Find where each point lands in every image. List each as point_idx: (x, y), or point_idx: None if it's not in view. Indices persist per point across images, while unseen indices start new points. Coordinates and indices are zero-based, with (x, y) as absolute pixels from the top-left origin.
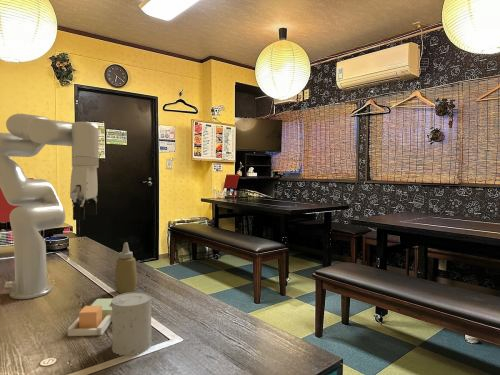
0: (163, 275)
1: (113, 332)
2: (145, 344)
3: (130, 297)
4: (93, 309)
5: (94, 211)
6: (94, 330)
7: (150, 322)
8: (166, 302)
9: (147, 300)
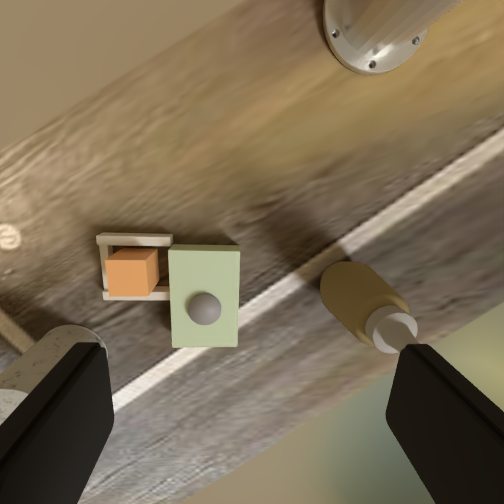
0: (439, 339)
1: (25, 352)
2: None
3: None
4: (124, 285)
5: (406, 442)
6: (104, 285)
7: None
8: (260, 372)
9: None
